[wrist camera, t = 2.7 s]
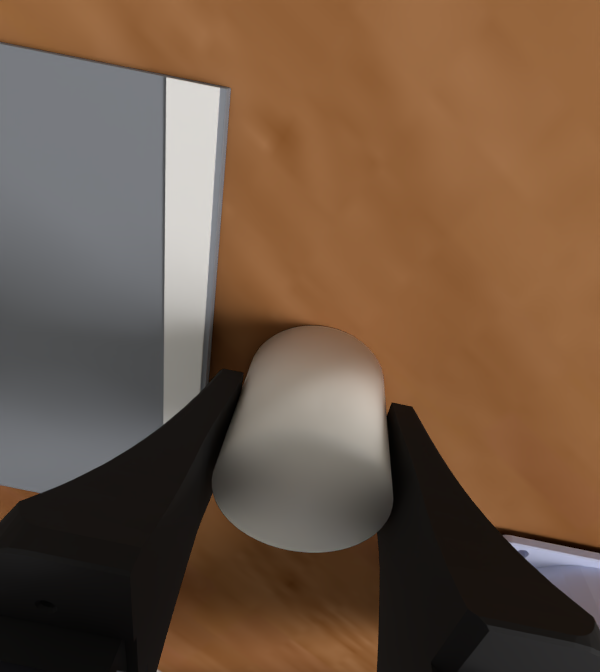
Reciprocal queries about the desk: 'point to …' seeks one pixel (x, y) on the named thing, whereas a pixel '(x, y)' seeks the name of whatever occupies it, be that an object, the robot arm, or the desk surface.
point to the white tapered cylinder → (308, 444)
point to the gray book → (102, 257)
